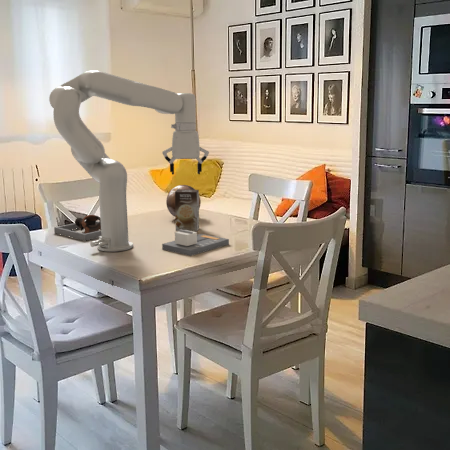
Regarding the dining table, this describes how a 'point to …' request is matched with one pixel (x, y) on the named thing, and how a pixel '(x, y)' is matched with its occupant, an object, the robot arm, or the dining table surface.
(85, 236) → the grey shallow tray
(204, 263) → the dining table surface
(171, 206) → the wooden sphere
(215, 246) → the board
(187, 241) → the fader knob
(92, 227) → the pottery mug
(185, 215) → the coffee box
